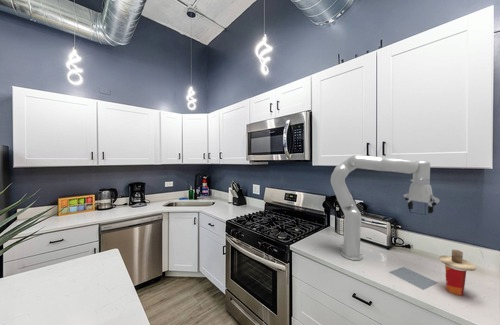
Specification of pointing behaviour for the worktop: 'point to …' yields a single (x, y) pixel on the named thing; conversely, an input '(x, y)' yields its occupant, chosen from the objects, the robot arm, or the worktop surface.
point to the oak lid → (457, 261)
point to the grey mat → (413, 278)
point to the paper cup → (455, 280)
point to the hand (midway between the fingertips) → (420, 211)
